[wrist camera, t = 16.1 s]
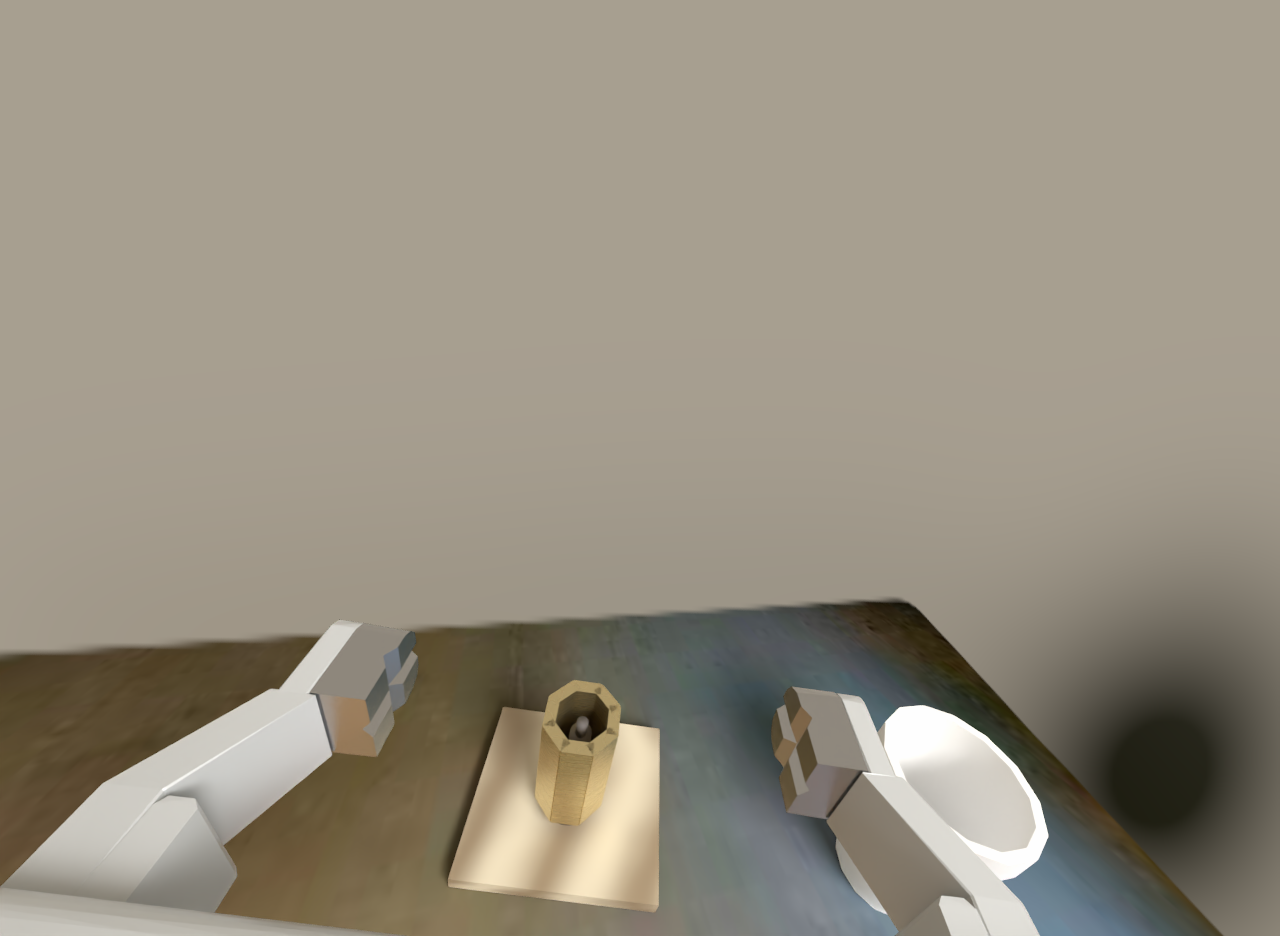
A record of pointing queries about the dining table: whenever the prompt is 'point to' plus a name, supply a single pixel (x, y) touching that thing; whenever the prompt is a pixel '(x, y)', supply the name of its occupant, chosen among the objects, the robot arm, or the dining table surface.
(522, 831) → the shaft stand
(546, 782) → the collar
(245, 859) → the dining table surface
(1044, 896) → the dining table surface
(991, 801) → the foam cup
